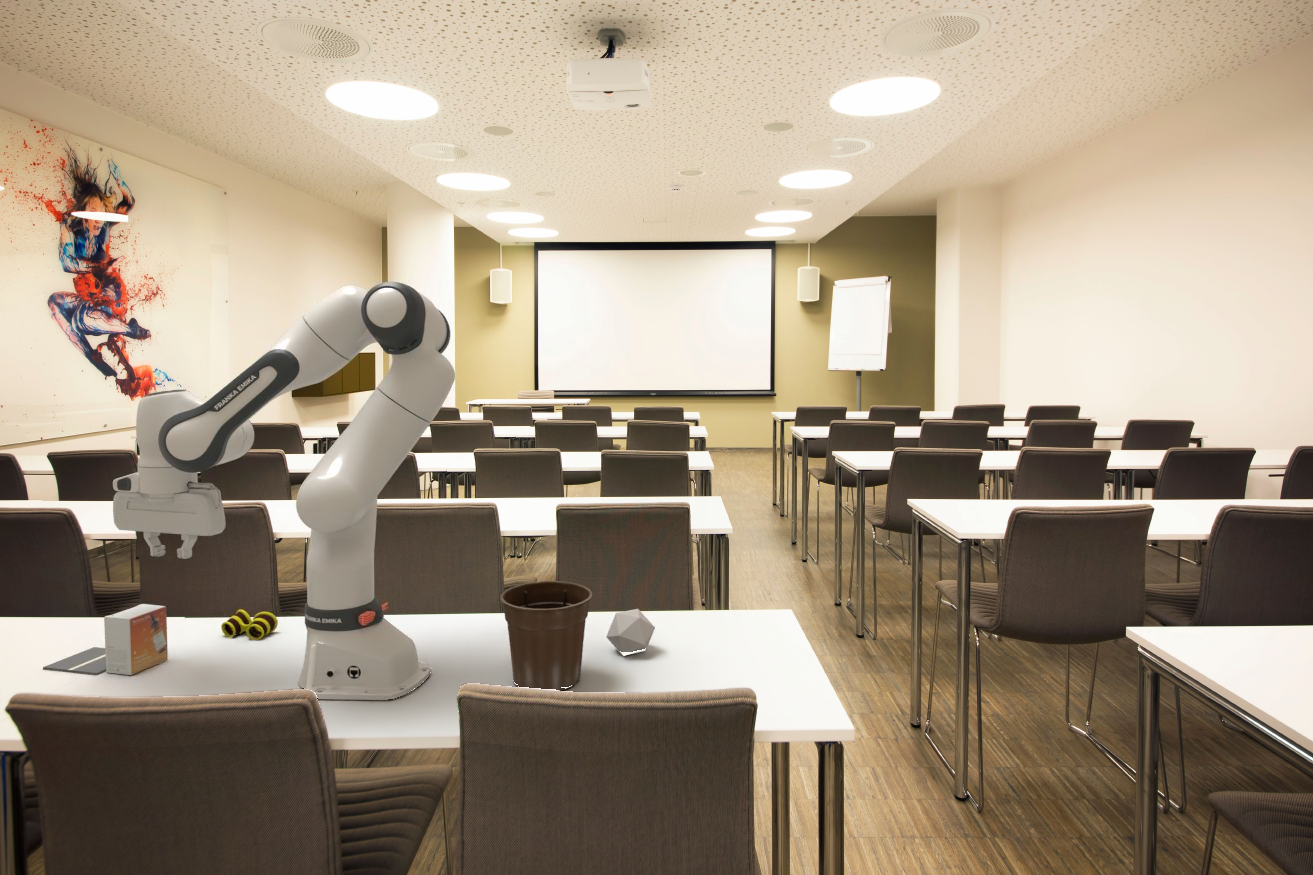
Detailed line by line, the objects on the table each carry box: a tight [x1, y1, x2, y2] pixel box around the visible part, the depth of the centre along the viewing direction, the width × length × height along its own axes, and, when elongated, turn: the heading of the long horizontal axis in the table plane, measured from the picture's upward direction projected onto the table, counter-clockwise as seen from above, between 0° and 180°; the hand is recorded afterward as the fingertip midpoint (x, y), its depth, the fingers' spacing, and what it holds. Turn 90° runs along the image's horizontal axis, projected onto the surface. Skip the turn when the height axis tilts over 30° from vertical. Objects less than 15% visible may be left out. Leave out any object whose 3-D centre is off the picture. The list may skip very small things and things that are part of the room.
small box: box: [103, 603, 169, 676], centre depth 135 cm, size 8×6×10 cm
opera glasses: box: [220, 609, 279, 641], centre depth 152 cm, size 10×5×5 cm, turn 79°
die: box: [606, 608, 656, 652], centre depth 147 cm, size 8×9×10 cm
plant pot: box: [500, 580, 593, 691], centre depth 132 cm, size 16×16×16 cm
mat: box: [42, 646, 106, 676], centre depth 137 cm, size 12×10×1 cm
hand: (171, 556), depth 132 cm, fingers open, 4 cm apart
